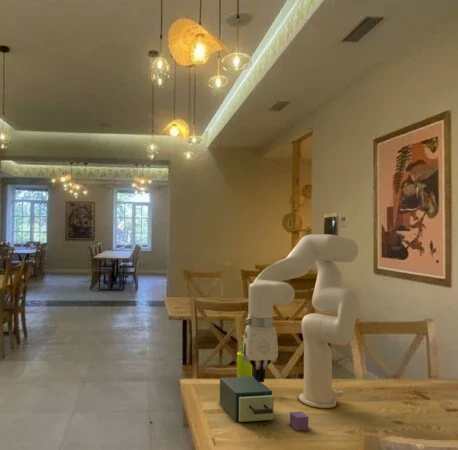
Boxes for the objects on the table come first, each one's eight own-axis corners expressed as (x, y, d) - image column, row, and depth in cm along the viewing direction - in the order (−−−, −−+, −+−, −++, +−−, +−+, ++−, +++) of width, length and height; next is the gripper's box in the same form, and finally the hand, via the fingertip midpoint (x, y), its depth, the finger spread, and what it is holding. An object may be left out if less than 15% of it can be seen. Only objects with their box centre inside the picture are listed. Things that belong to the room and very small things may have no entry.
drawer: (280, 426, 127) (281, 402, 128) (246, 428, 125) (246, 404, 125) (255, 403, 145) (255, 382, 146) (224, 404, 143) (224, 383, 143)
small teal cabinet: (272, 419, 134) (272, 391, 135) (235, 421, 132) (236, 393, 132) (252, 401, 149) (253, 376, 149) (219, 403, 146) (220, 377, 146)
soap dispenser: (254, 390, 160) (255, 338, 161) (236, 388, 162) (237, 337, 162) (254, 385, 166) (254, 334, 167) (236, 383, 167) (237, 333, 168)
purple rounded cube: (301, 424, 131) (301, 411, 131) (308, 429, 127) (308, 416, 128) (289, 425, 130) (290, 412, 131) (296, 430, 127) (296, 417, 127)
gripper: (243, 324, 125) (241, 386, 125) (288, 324, 128) (287, 384, 128) (233, 320, 133) (232, 378, 132) (276, 319, 136) (275, 376, 135)
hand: (259, 380), depth 130 cm, fingers closed
